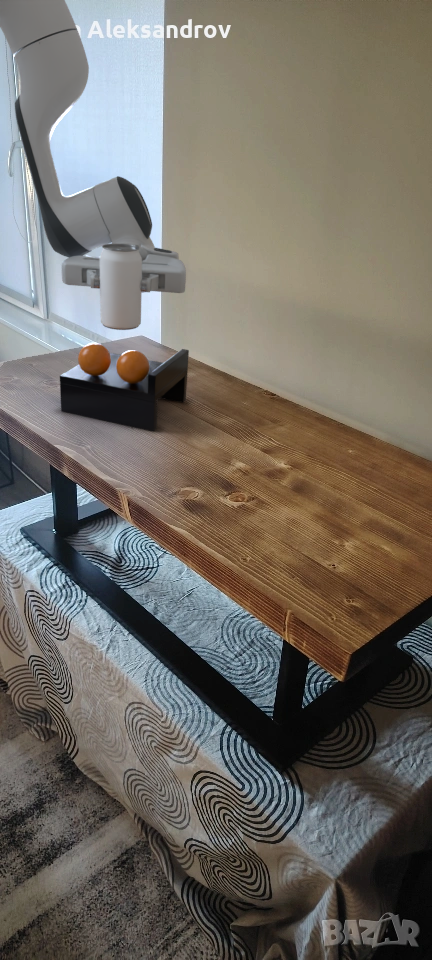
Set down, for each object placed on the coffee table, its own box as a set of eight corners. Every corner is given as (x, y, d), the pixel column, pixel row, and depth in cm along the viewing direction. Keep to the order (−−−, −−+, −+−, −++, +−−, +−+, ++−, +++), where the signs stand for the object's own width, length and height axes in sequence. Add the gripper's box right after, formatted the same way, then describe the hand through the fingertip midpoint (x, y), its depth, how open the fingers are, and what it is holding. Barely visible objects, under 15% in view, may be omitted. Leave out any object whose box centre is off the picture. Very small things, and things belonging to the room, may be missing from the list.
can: (149, 325, 102) (150, 248, 96) (122, 333, 97) (123, 252, 91) (118, 316, 105) (118, 241, 99) (92, 324, 100) (90, 245, 94)
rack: (61, 411, 100) (57, 344, 94) (102, 383, 111) (101, 322, 106) (153, 431, 96) (156, 362, 90) (185, 400, 107) (189, 338, 102)
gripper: (67, 243, 107) (51, 258, 95) (187, 252, 108) (186, 269, 96) (69, 281, 110) (53, 300, 98) (185, 289, 111) (184, 310, 99)
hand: (120, 285), depth 97 cm, fingers closed on can, 6 cm apart
